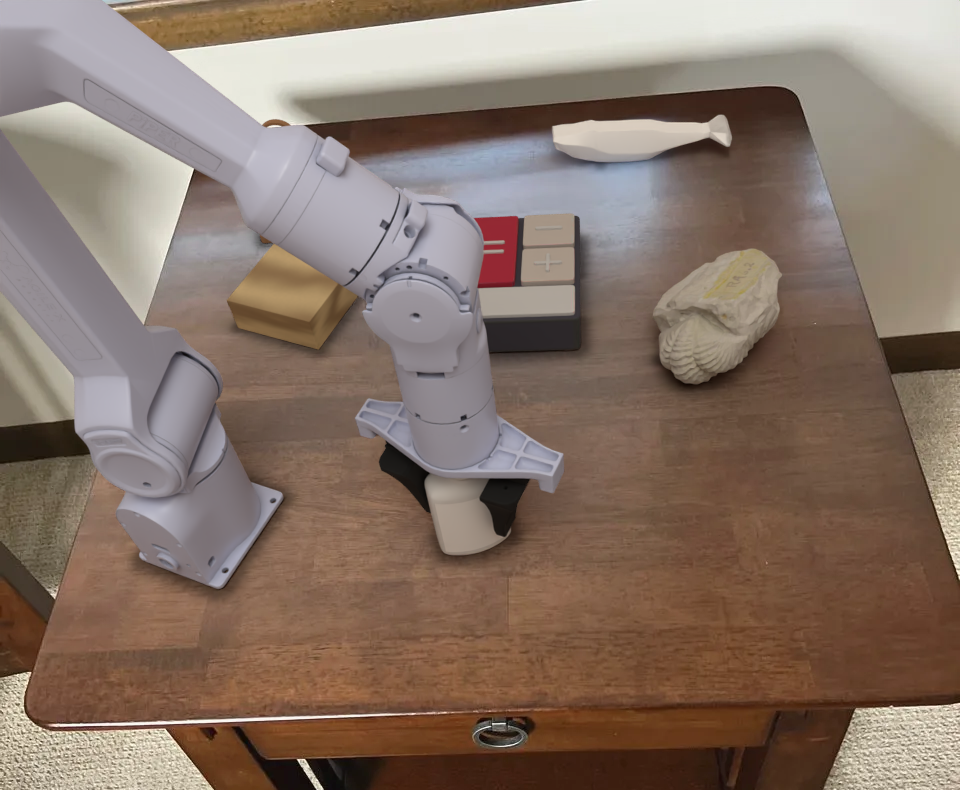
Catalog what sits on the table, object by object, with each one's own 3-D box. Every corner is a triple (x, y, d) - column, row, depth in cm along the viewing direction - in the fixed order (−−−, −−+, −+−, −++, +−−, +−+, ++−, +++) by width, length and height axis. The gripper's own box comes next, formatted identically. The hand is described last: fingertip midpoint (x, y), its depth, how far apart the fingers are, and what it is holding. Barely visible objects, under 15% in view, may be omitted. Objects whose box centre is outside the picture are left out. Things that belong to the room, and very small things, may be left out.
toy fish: (552, 147, 99) (551, 113, 95) (722, 132, 97) (727, 97, 94) (554, 178, 95) (553, 144, 92) (730, 163, 94) (735, 127, 91)
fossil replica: (638, 393, 77) (758, 412, 76) (650, 327, 70) (784, 347, 69) (657, 287, 83) (770, 304, 82) (671, 217, 76) (794, 234, 75)
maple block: (318, 350, 84) (309, 321, 81) (237, 328, 87) (226, 300, 84) (365, 286, 89) (357, 257, 86) (286, 267, 91) (277, 239, 89)
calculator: (579, 207, 86) (580, 311, 77) (580, 245, 90) (580, 350, 81) (464, 212, 88) (451, 316, 78) (468, 250, 91) (456, 353, 82)
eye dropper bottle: (504, 564, 69) (490, 466, 59) (432, 554, 70) (406, 456, 60) (515, 516, 71) (503, 415, 61) (445, 508, 72) (423, 406, 63)
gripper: (579, 373, 57) (582, 500, 68) (376, 321, 61) (409, 448, 72) (536, 457, 53) (546, 577, 64) (323, 395, 58) (366, 517, 69)
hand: (470, 514), depth 68 cm, fingers closed on eye dropper bottle, 5 cm apart
